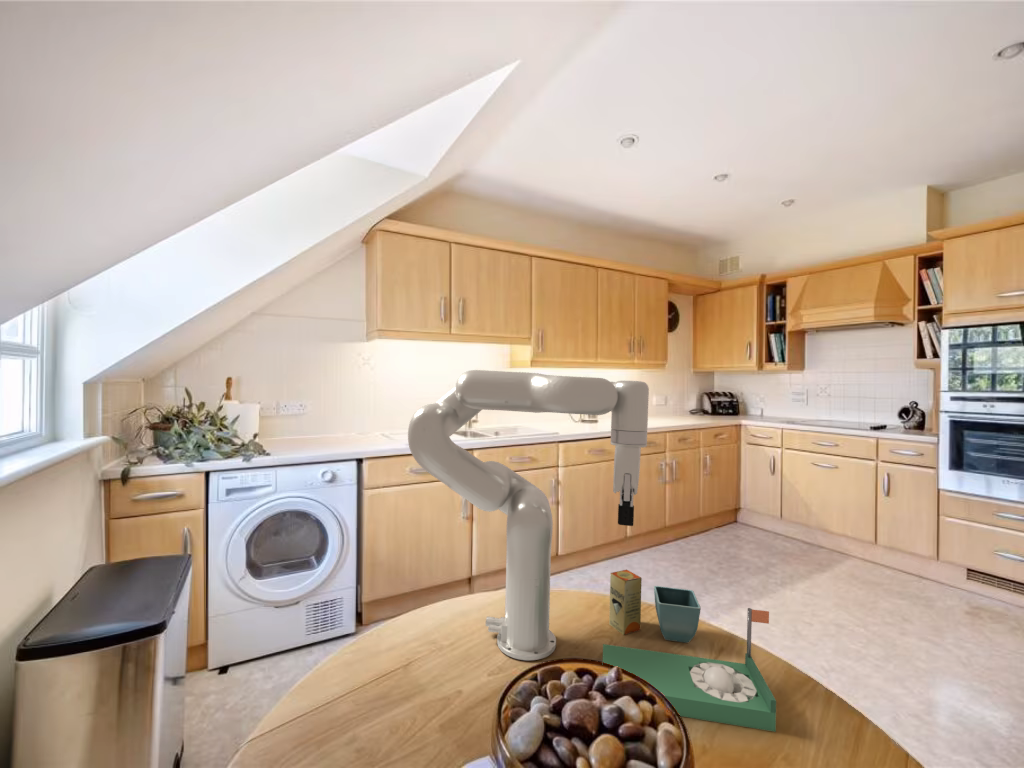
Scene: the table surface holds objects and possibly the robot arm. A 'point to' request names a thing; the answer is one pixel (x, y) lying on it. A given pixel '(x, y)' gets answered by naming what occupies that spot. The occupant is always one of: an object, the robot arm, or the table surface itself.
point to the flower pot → (677, 613)
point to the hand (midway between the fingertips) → (625, 524)
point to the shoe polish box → (625, 601)
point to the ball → (719, 679)
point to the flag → (754, 617)
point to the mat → (701, 686)
